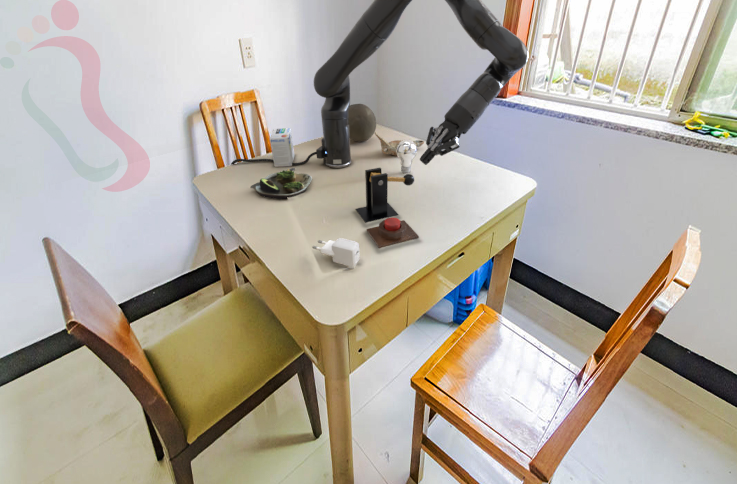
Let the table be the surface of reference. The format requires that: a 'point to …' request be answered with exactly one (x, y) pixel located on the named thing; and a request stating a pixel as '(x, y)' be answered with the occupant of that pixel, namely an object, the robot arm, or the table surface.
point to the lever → (399, 179)
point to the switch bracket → (376, 197)
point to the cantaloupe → (361, 122)
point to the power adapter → (341, 251)
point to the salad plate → (283, 184)
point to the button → (392, 224)
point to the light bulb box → (282, 147)
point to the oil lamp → (394, 145)
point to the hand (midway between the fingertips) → (422, 162)
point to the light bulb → (406, 154)
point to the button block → (391, 234)
